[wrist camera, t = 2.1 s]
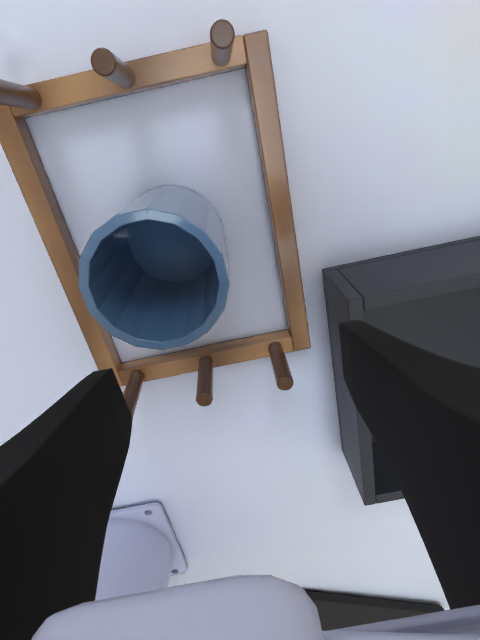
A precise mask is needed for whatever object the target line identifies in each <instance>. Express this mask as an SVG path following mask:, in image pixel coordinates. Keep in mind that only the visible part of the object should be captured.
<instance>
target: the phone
mask: <svg viewBox="0 0 480 640" xmlns="http://www.w3.org/2000/svg"><path fill="white" fill-rule="evenodd" d="M305 592H306V593H307V594H308V596H309V597H310V598H311V600H312V601H313V603H314V604H315V605H316V607H317V610H318V615H319V619H320V624H321V629H322V631H329V630H335V629H341V628H347V627H353V626H359V625H364V624H370V623H376V622H382V621H388V620H393V619H399V618H405V617H411V616H417V615H423V614H428V613H434V612H440V611H444V609H443V608H442V607H440V606H436V605H428V604H419V603H410V602H401V601H392V600H383V599H374V598H365V597H356V596H347V595H339V594H330V593H321V592H312V591H305Z"/></svg>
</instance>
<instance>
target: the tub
mask: <svg viewBox="0 0 480 640" xmlns="http://www.w3.org/2000/svg"><path fill="white" fill-rule="evenodd" d="M322 273H323V282H324V291H325V300H326V309H327V318H328V327H329V336H330V345H331V354H332V363H333V372H334V381H335V390H336V399H337V408H338V417H339V426H340V435H341V444H342V451H343V453H344V456H345V458H346V461H347V463H348V466H349V468H350V471H351V473H352V475H353V478H354V480H355V483H356V485H357V488H358V490H359V493H360V495H361V498H362V500H363V503H364V505H371V504H375V503H382V502H388V501H393V500H398V499H404V495H403V493H402V491H401V489H400V486H399V484H398V482H397V480H396V478H395V475H394V473H393V471H392V470H391V468H390V466H389V464H388V462H387V460H386V458H385V457H384V455H383V453H382V451H381V450H380V448H379V446H378V445H377V443H376V441H375V439H374V438H373V436H372V434H371V433H370V431H369V429H368V427H367V426H366V424H365V422H364V420H363V419H362V417H361V415H360V413H359V412H358V410H357V408H356V406H355V405H354V402H353V400H352V398H351V395H350V393H349V390H348V388H347V385H346V383H345V380H344V378H343V367H342V356H341V345H340V334H339V323H342V322H347V321H352V320H357V319H359V320H361V321H364V322H366V323H368V324H370V325H372V326H374V327H376V328H378V329H380V330H382V331H384V332H386V333H388V334H390V335H392V336H395V337H397V338H399V339H401V340H403V341H405V342H408V343H410V344H412V345H414V346H417V347H419V348H422V349H424V350H427V351H429V352H432V353H434V354H437V355H439V356H442V357H445V358H448V359H451V360H454V361H458V362H461V363H464V364H467V365H471V366H474V367H478V368H480V236H478V237H473V238H468V239H464V240H459V241H454V242H449V243H444V244H440V245H435V246H430V247H425V248H421V249H416V250H411V251H406V252H401V253H397V254H392V255H387V256H382V257H378V258H373V259H368V260H363V261H358V262H354V263H349V264H344V265H339V266H335V267H330V268H325V269H322Z"/></svg>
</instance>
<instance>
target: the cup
mask: <svg viewBox="0 0 480 640" xmlns="http://www.w3.org/2000/svg"><path fill="white" fill-rule="evenodd" d="M228 288H229V275H228V264H227V253H226V242H225V236H224V231H223V226H222V222H221V219H220V217H219V215H218V213H217V212H216V210H215V208H214V207H213V206H212V205H211V203H210V202H209V201H208V200H207V199H206V198H204V197H203V196H202V195H200V194H199V193H197V192H195V191H193V190H191V189H188V188H185V187H181V186H175V185H166V186H160V187H156V188H153V189H150V190H147V191H146V192H145V193H143V194H142V195H141V196H139V197H138V198H137V199H135V200H134V201H133V202H131V203H130V204H129V205H127V206H126V207H125V208H124V209H122V210H121V211H120V212H119V213H117V214H116V215H115V216H113V217H112V218H111V219H110V220H108V221H107V222H106V223H104V224H103V225H102V226H101V227H99V228H98V229H97V230H95V231H94V232H93V233H92V234H91V236H90V238H89V240H88V242H87V244H86V246H85V248H84V250H83V252H82V254H81V256H80V259H79V289H80V291H81V294H82V296H83V299H84V301H85V304H86V306H87V308H88V311H89V313H90V314H91V315H92V316H93V317H94V318H95V319H96V320H97V322H98V323H99V324H100V325H101V326H102V327H103V328H104V329H105V330H106V331H107V332H108V333H110V334H111V335H113V336H115V337H117V338H119V339H121V340H123V341H125V342H127V343H129V344H131V345H133V346H136V347H143V348H150V349H157V350H161V349H162V350H164V349H169V348H174V347H179V346H184V345H187V344H189V343H191V342H193V341H194V340H196V339H197V338H199V337H200V336H202V335H204V334H205V333H207V332H208V331H209V330H210V329H211V328H212V326H213V325H214V324H215V322H216V321H217V319H218V318H219V316H220V315H221V314H222V312H223V311H224V309H225V304H226V299H227V293H228Z"/></svg>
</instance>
